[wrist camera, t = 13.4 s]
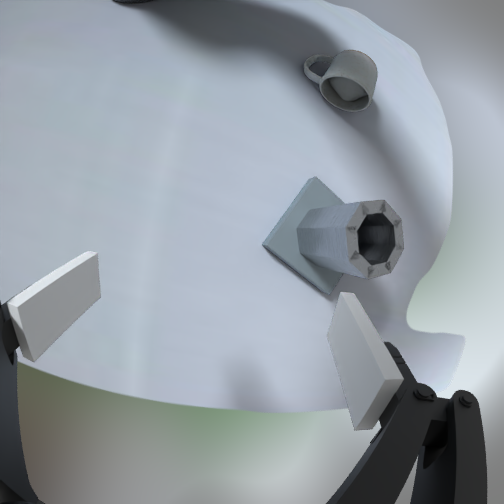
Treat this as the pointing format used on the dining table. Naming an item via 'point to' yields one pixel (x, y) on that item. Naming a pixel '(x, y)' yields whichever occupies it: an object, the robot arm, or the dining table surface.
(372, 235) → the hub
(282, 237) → the peg block
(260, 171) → the dining table surface
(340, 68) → the ceramic mug
